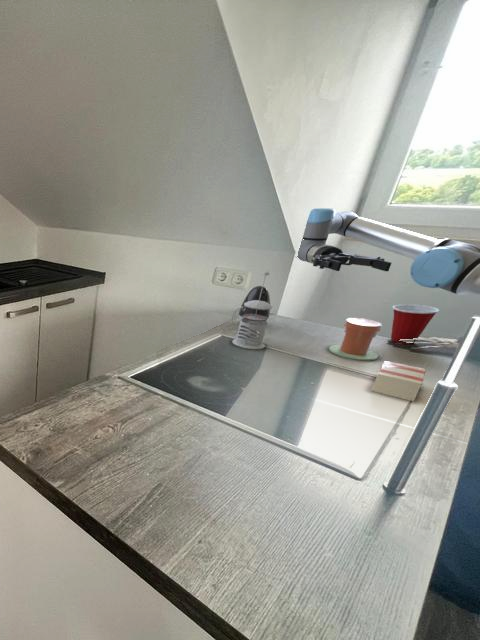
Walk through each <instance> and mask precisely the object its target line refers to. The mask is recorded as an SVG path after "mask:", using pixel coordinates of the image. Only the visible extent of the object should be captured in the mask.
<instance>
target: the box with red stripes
mask: <svg viewBox="0 0 480 640" xmlns="http://www.w3.org/2000/svg"><path fill="white" fill-rule="evenodd" d="M425 374H426V368H422V367H417V366H412V365H408V364H404V363H398V362H394V361H390V360H384V361H383V363H382V365H381V367H380V369H379V371H378V373H377V376H376V378H375V380H374V383H373V385H372V388H371V390H370V391H372V392H375V393H379V394H383V395H386V396H390V397H393V398H399V399H402V400H406V401H411V402H415V400H416V397H417V395H418V394H419V391H420V390H421V387H422V385H423V382H424V377H425Z"/></svg>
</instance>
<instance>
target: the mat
mask: <svg viewBox="0 0 480 640" xmlns="http://www.w3.org/2000/svg"><path fill="white" fill-rule="evenodd" d="M340 347H341V344H333V345H330V346H329V347H328V351H329V352H330V353H332V354H334V355H336V356H339V357H343V358H347V359H351V360H355V361H375V360H378V357H379V355H378V354H377V353H376V352H374V351H372V350H370V349H368V351H367V354H366V355H352V354H348V353H345V352H342V351H341V350H340Z"/></svg>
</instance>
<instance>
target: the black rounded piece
mask: <svg viewBox="0 0 480 640" xmlns="http://www.w3.org/2000/svg"><path fill="white" fill-rule="evenodd" d="M262 286H263V285H256V286H253V288H252V289H251V290H249V292H247V294H246V296H245V298H244V299H243V301H242V303H241V305H240V307H243V306H244V303H246V302H249V301H253V300H259V298H260V300H261V301H265V302H267V303H269V304H270V305H271V295H270V293H269V290H268V288H267V287H265V286H263V289H262ZM261 290H262V293H261ZM260 294H261V297H260ZM240 307H239V308H240ZM245 307H246V306H244V307H243V308H244V309H245ZM243 308H240V309H238V319H239V321H242V319H243V318H244V317H243V315H245V314H256V315H261V316H265V317H267V318H268V319H270V317H271V309H269V310H258V309H252V308H248V307H246V309H245V311H244V310H243ZM242 310H243V311H242ZM256 310H257V313H256ZM268 319H267V320H268ZM267 320H266V322H267ZM247 323H256V324H258V325H261V324H259V323H258V322H256V321H250V322H247Z"/></svg>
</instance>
